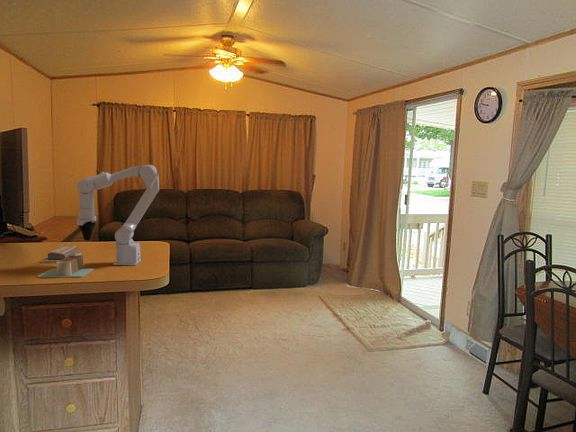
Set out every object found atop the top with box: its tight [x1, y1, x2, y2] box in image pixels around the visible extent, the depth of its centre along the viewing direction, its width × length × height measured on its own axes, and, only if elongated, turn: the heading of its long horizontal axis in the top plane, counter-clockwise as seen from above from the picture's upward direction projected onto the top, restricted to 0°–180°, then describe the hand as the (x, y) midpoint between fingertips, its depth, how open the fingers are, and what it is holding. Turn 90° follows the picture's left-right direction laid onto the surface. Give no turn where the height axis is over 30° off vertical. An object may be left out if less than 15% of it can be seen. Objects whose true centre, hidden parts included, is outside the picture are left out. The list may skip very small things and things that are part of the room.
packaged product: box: [41, 245, 83, 264], centre depth 181 cm, size 18×5×10 cm
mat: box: [36, 268, 94, 279], centre depth 156 cm, size 16×11×1 cm
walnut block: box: [55, 255, 84, 275], centre depth 157 cm, size 5×5×11 cm
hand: (87, 240), depth 169 cm, fingers closed
